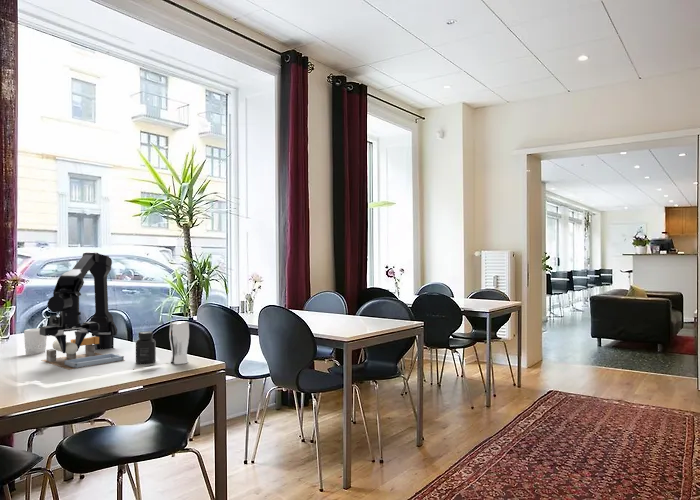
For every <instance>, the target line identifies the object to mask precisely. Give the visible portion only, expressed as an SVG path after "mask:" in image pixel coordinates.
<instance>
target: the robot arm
mask: <svg viewBox="0 0 700 500" xmlns="http://www.w3.org/2000/svg"><path fill="white" fill-rule="evenodd" d="M112 265H113V260H112V258H111V257H110V256H109V255H105V254H103V253H98V252H95V251H85V252H83V253H82V257H81V258H80V259H79V260H78V261H77V262H76V264H75V265H74V266H73V268H72V269H70V270H68V271H65V272H63V274H61V275H60V276H59V277H58V280H57V282H56V283H55V286H54V289H53V292H52V294H53V296H51V297H50V298H49V299H48V301H47V309H48V310H50V311H51V312H52V313H59V316H57V315H51V316H49V325H45V326H41V327H39V328H40V335H44V336H47V337H55V339H56V340H58V342H59V344H60V347H61V349H62V352H61V353H62V354H66V353H65V351H66V341H67V335H66V334H65V332H74V335H75V338H74V339H75V344H76V345H77V346H78V350H77V352H78V351H79V349H80V347H81V346H80V345H81V343H82V341H83V339H84V338H86V336H87V334H90V333H91V337H94V336H96V337H99V344H93V345H95V351H96V350H108V349H113V350H116V348H114V341H115V340H114V339H115V338H114V336H117V334H118V328H117V326H116V323H115V322H114V317H113V314H111V312H110V311H109V299H108V298H109V297H108V292H109V291H108V275H109V273H110V272H111V270H112ZM88 273H90V274H91V276H92V277H93V282H94V283H93V284H94V285H93V288H94V306H95V310H94V314H93V316H91V317H90V321H84V322H82V323H80V316H81V311H80V297H81V296H82V293H81V292H80V291H81V289H82V287H83V286H84V285H85V281H84V279H85V276H86V275H87V274H88ZM88 330H90V331H91V332H90V331H88Z"/></svg>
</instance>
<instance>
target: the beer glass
mask: <svg viewBox="0 0 700 500" xmlns="http://www.w3.org/2000/svg"><path fill="white" fill-rule="evenodd" d="M189 323H190V322H189V321H184V320H183V321H180V320H179V321H178V320H177V321H171V322H170V323H169V342H170V349H171V359H170V364H171V365H176V366H177V365H185V364H188V363H189V360H188V347H189V340H190V324H189Z"/></svg>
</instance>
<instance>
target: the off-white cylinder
mask: <svg viewBox="0 0 700 500" xmlns="http://www.w3.org/2000/svg"><path fill="white" fill-rule="evenodd" d="M52 349H54V350H56V352H60V353H63V352H62V349H61V347H60V344H59V342H58V340H57V339H56V340H55V341H54V342H53V343H52ZM77 350H78V351H79V349H78V346H77V345H76V344H75V343H71V341H67V340H66V351H65V353H64V354H66V353H67V354H74V353H76V354H77V352H78V351H77Z"/></svg>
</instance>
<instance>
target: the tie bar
mask: <svg viewBox="0 0 700 500" xmlns="http://www.w3.org/2000/svg"><path fill="white" fill-rule="evenodd" d="M75 339H76V338H74V339H70V342H71V343H75ZM91 344H92V345H94V344H99V337H96V336H91V337H89V336H88V337H85V338H84V339H83V341H82V343H81V345H80V347H82V346H83V347H84V346H85V345H91Z"/></svg>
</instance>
